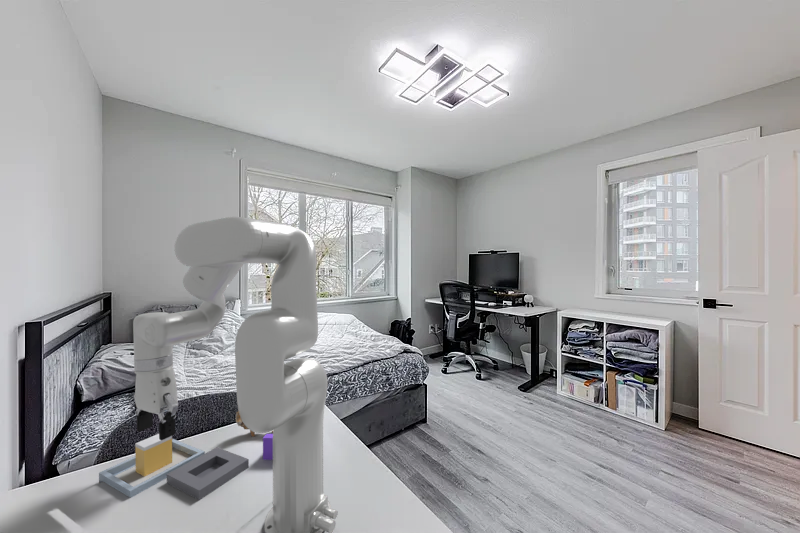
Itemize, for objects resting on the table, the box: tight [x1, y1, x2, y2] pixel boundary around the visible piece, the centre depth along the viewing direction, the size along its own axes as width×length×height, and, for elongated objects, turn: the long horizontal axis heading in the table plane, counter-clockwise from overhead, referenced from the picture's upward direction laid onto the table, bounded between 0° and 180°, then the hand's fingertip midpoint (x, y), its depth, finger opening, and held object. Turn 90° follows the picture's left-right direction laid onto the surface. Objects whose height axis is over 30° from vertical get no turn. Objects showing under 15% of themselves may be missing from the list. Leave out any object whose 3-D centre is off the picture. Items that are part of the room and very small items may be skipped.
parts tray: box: [98, 438, 206, 499], centre depth 78 cm, size 14×16×2 cm
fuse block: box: [166, 446, 250, 501], centre depth 75 cm, size 12×12×3 cm
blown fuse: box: [135, 433, 173, 477], centre depth 78 cm, size 4×6×7 cm, turn 153°
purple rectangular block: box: [262, 433, 273, 461], centre depth 87 cm, size 12×7×7 cm, turn 178°
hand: (155, 433), depth 78 cm, fingers open, 9 cm apart
